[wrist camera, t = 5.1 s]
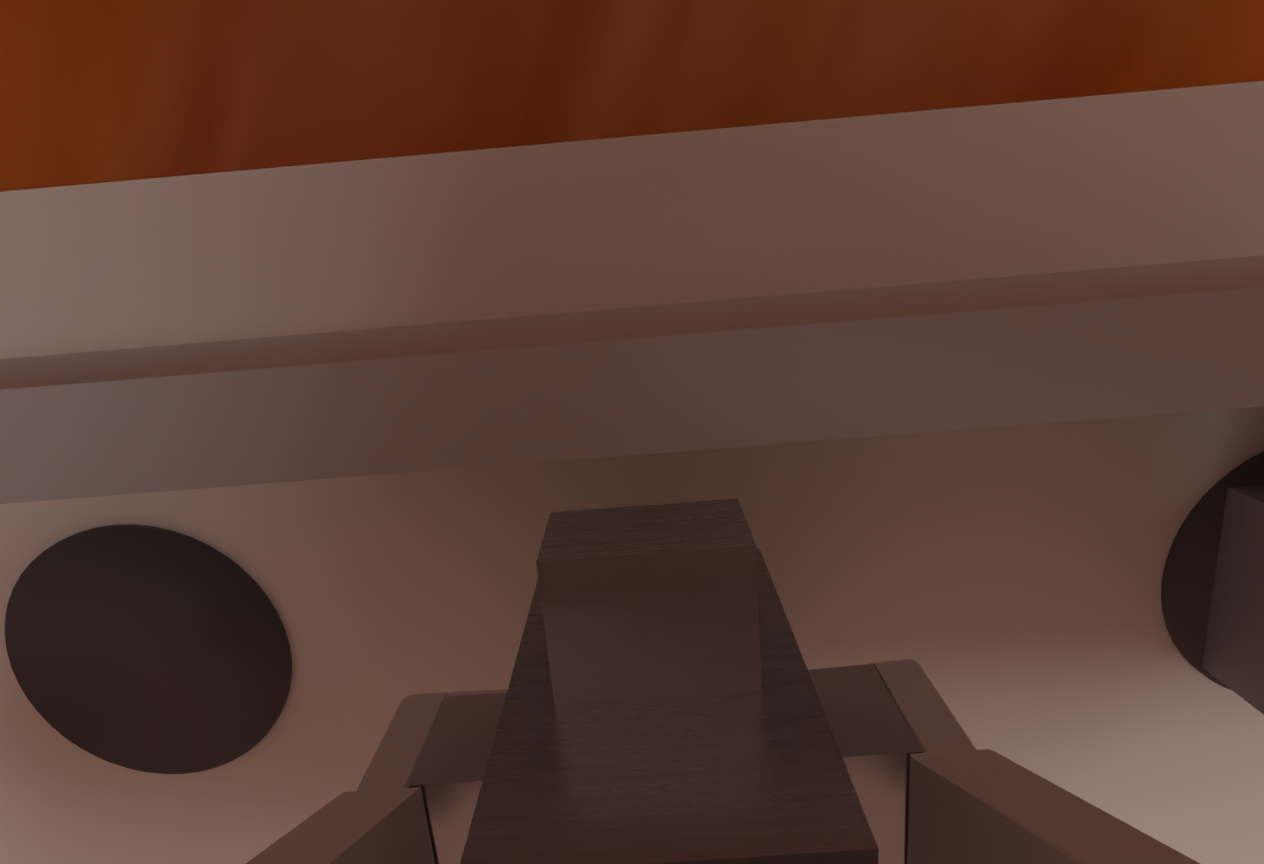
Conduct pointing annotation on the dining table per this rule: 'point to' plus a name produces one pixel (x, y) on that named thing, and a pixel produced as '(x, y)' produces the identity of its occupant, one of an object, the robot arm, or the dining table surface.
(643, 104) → the dining table surface
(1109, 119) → the grey peg board
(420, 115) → the dining table surface
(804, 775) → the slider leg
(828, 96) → the dining table surface
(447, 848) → the robot arm
